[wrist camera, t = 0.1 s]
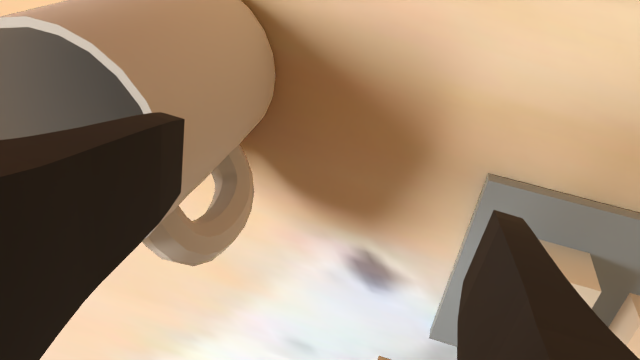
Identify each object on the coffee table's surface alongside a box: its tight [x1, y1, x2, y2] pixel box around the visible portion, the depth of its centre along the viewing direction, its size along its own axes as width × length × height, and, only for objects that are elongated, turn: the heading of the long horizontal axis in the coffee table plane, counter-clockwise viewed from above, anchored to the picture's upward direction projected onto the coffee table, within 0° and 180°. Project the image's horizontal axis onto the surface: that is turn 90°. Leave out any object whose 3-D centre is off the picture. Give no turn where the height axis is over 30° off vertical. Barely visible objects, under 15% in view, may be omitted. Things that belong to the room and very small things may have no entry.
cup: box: [0, 0, 276, 266], centre depth 19 cm, size 7×10×9 cm
